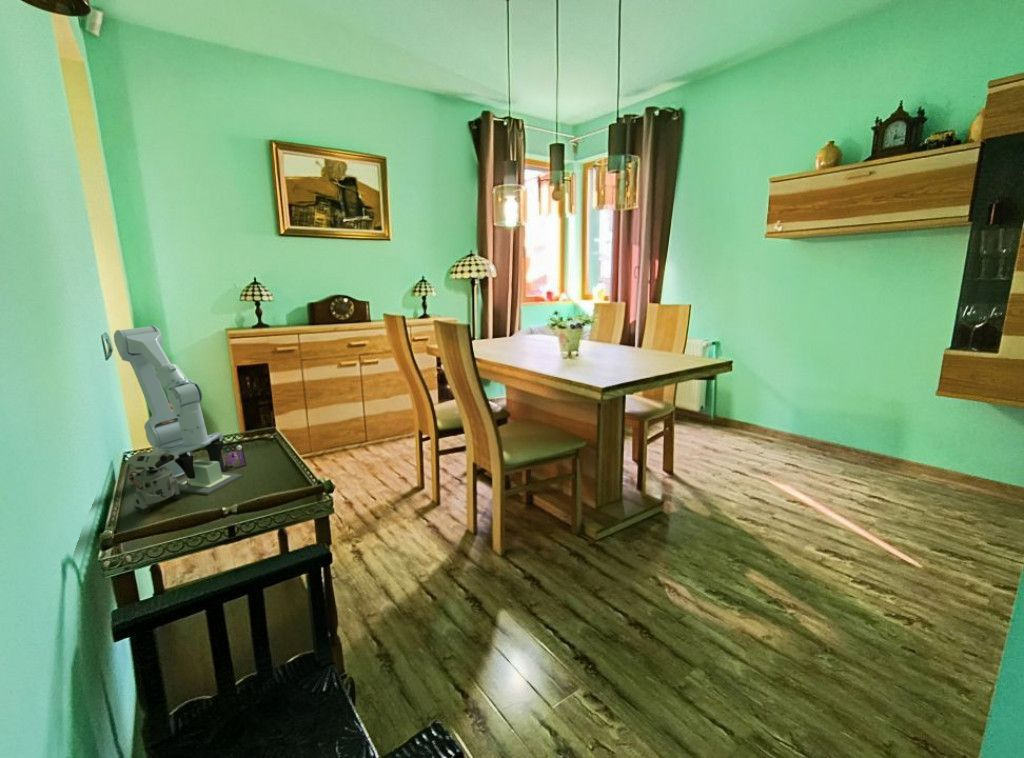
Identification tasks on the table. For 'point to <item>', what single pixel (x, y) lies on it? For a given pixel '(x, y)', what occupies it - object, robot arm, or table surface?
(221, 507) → the table surface
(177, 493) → the figurine
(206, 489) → the mat
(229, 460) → the game card
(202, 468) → the mint slotted box
